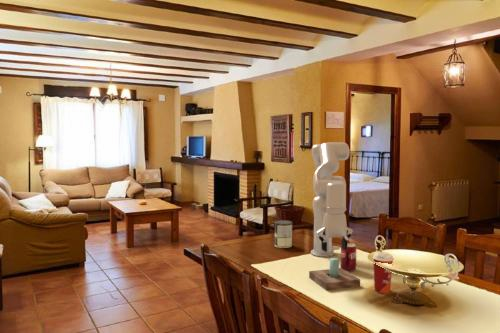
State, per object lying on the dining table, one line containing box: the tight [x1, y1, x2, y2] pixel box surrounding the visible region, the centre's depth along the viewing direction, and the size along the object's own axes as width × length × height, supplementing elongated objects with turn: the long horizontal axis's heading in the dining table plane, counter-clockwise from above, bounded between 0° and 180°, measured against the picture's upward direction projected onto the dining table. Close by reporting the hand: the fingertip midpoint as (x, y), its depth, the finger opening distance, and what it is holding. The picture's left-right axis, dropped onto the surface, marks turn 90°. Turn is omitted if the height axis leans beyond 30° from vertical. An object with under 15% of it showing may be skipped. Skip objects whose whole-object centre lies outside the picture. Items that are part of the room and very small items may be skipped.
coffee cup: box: [372, 252, 395, 294], centre depth 168 cm, size 8×8×15 cm
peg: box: [329, 257, 340, 278], centre depth 178 cm, size 4×4×10 cm
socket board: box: [308, 267, 361, 291], centre depth 178 cm, size 16×16×3 cm
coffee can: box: [274, 219, 293, 249], centre depth 238 cm, size 10×10×14 cm
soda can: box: [340, 242, 358, 273], centre depth 195 cm, size 7×7×12 cm
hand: (334, 249), depth 178 cm, fingers open, 9 cm apart
